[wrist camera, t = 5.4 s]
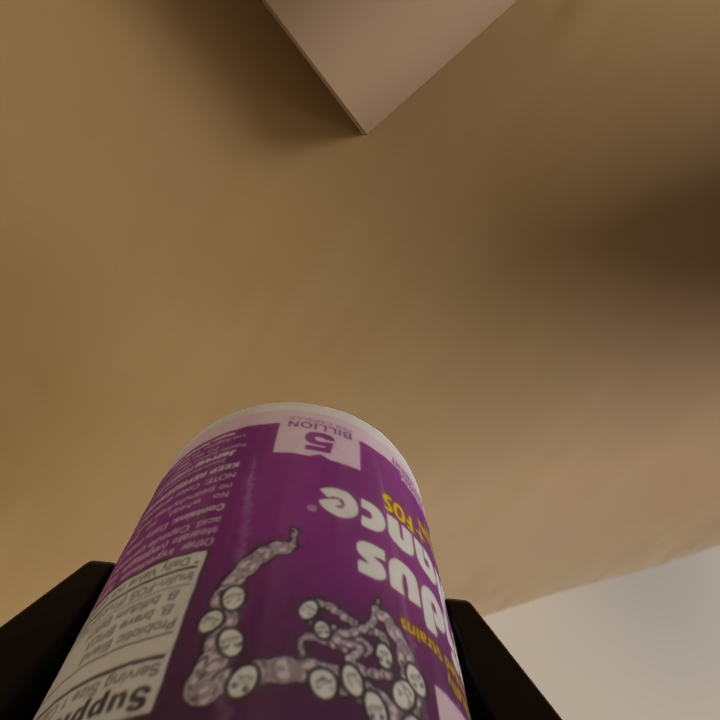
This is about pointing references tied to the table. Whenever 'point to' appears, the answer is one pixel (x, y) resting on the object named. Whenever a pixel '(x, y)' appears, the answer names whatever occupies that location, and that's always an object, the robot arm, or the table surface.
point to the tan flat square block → (380, 45)
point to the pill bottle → (272, 586)
